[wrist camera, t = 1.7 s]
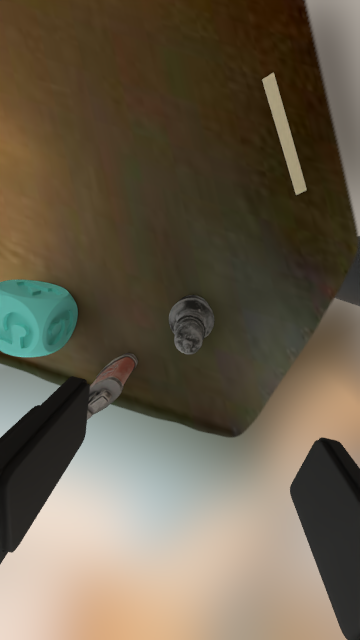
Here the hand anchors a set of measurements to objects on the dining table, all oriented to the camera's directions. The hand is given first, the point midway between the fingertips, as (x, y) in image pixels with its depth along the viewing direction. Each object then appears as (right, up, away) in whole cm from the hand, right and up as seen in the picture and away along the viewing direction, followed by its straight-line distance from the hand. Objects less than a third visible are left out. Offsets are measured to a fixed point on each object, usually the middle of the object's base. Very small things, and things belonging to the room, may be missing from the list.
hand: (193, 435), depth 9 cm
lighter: (-11, -3, +26) cm, 29 cm away
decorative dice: (-20, +6, +24) cm, 32 cm away
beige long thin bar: (+11, +25, +15) cm, 31 cm away
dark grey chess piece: (+1, +6, +22) cm, 23 cm away
